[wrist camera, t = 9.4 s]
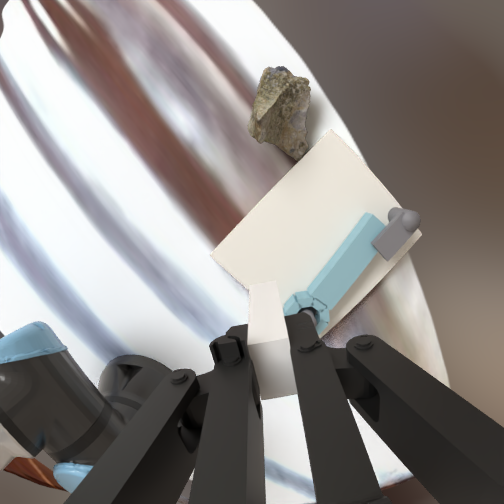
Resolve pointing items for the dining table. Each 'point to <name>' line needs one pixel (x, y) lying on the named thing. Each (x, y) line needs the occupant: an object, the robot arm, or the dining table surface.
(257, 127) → the rock
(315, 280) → the link
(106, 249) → the dining table surface
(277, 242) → the board
